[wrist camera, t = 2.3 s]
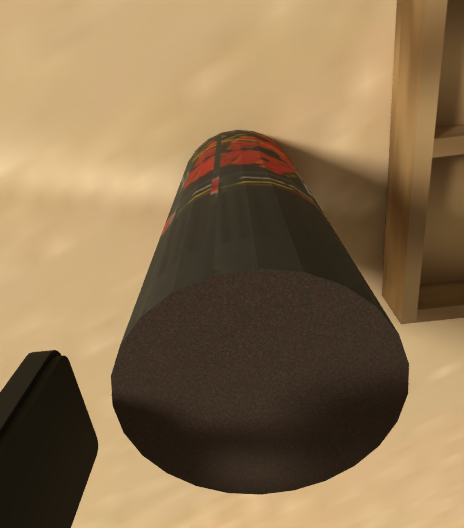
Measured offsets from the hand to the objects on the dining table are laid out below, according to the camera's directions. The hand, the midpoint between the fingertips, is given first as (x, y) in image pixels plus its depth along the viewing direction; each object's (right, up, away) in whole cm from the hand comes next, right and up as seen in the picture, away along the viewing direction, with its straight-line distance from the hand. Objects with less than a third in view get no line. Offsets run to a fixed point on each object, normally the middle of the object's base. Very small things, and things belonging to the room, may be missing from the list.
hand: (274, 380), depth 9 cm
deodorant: (-1, +7, +12) cm, 14 cm away
